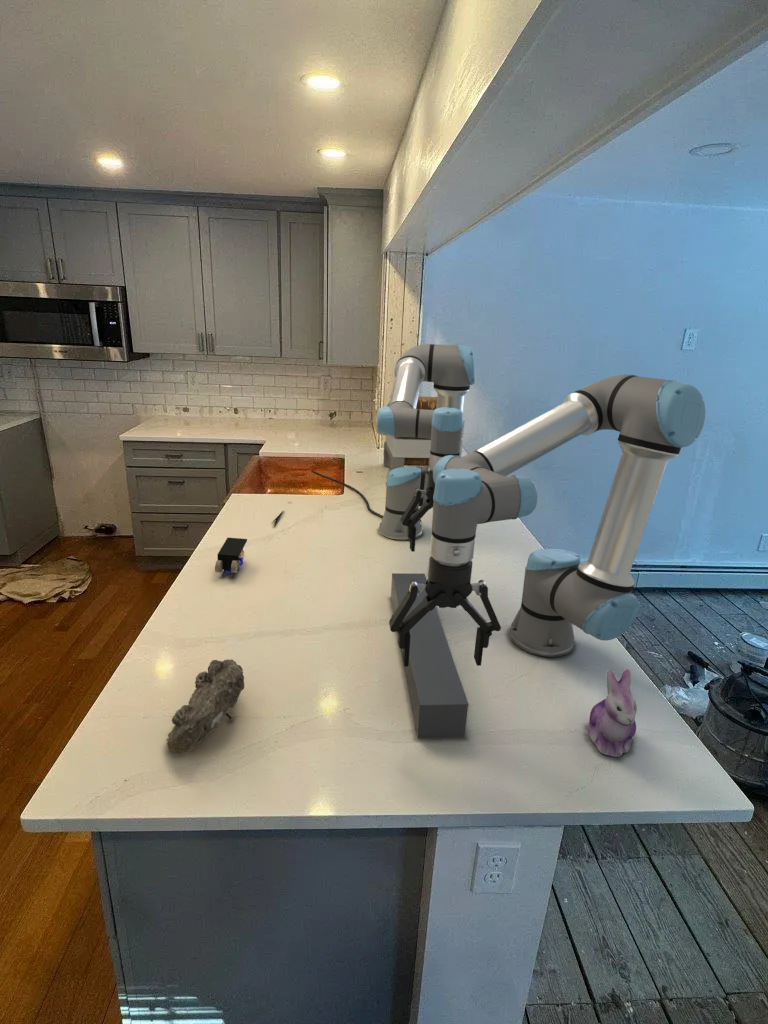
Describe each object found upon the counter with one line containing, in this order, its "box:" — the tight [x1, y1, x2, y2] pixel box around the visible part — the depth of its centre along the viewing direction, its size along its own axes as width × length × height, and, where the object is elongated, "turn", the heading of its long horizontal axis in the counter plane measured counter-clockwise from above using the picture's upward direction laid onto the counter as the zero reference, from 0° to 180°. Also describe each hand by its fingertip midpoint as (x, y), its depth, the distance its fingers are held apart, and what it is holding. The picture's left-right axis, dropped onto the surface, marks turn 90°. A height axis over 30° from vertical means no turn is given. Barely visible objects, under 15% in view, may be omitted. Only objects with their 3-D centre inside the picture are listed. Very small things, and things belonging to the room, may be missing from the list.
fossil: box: [166, 658, 245, 754], centre depth 106 cm, size 22×10×15 cm
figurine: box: [587, 668, 638, 758], centre depth 104 cm, size 9×10×15 cm
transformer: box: [383, 396, 465, 472], centre depth 268 cm, size 34×33×41 cm
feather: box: [271, 509, 284, 527], centre depth 213 cm, size 2×28×2 cm
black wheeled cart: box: [214, 537, 248, 578], centre depth 166 cm, size 7×8×15 cm
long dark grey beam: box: [390, 572, 469, 739], centre depth 129 cm, size 54×9×8 cm, turn 5°
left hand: (437, 548), depth 149 cm, fingers open, 13 cm apart
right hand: (441, 661), depth 106 cm, fingers open, 13 cm apart
